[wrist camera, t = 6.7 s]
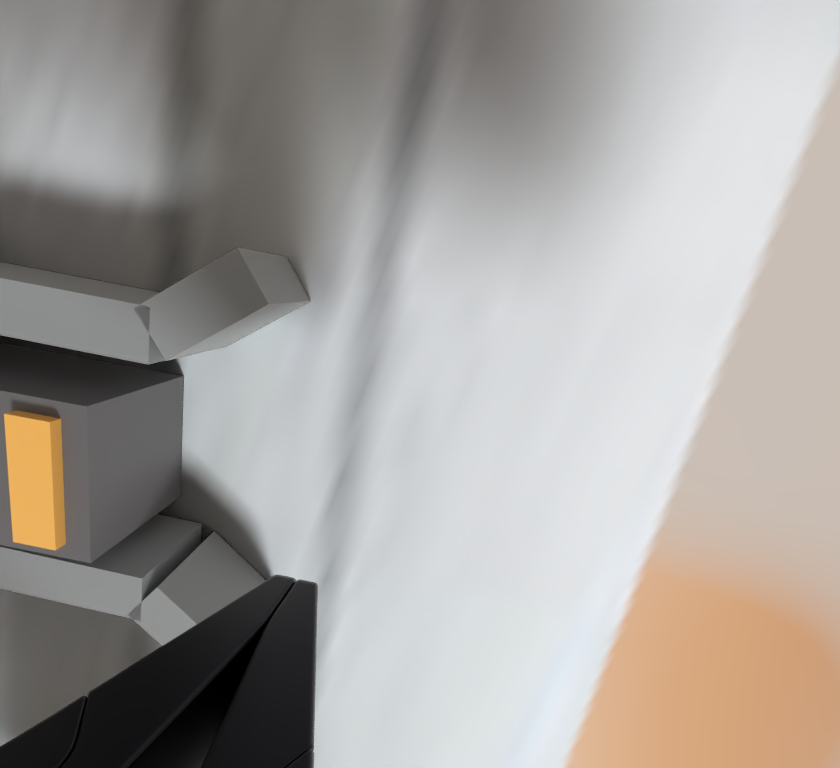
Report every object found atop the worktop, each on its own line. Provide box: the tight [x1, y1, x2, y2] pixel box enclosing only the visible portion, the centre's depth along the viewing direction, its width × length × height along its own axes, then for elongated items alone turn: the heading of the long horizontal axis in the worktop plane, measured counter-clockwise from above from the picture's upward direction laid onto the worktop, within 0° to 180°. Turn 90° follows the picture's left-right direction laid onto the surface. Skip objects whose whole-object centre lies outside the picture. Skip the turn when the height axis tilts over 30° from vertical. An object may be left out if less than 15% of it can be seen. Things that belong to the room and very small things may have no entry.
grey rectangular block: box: [0, 343, 184, 563], centre depth 13 cm, size 4×7×4 cm, turn 81°
